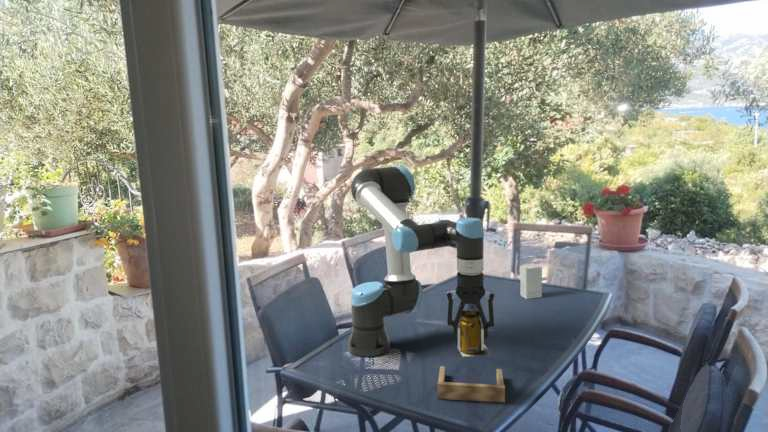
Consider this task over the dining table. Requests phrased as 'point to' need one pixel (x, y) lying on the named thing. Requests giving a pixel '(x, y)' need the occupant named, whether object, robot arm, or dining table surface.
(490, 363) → the dining table surface
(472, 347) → the condiment
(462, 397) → the bay
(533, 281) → the skincare box
